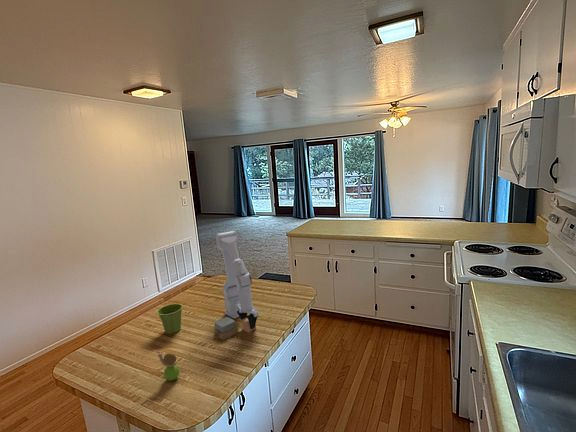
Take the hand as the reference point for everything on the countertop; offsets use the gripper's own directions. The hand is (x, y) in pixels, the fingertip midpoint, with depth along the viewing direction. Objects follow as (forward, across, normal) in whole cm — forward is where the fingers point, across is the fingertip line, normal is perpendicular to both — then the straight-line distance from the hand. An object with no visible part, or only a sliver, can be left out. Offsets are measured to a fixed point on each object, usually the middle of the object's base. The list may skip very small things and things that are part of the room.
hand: (249, 326), depth 144 cm
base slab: (+2, -6, -9) cm, 11 cm away
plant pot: (+2, -30, -24) cm, 38 cm away
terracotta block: (+2, 0, 0) cm, 2 cm away
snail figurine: (+2, +5, -40) cm, 40 cm away
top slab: (-1, -6, -9) cm, 11 cm away
